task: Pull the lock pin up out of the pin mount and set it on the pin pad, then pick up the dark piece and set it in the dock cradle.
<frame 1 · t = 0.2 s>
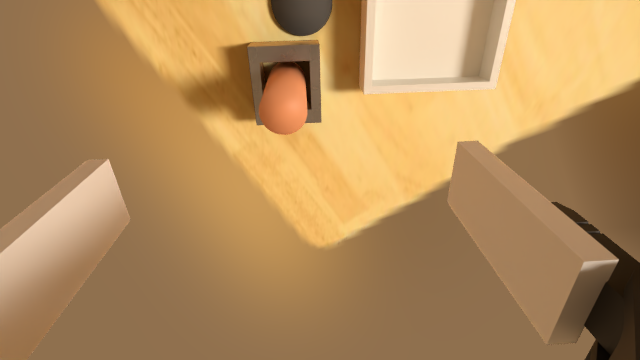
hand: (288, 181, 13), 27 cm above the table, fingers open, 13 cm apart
lock pin: (285, 93, 33), in the pin mount
pin pad: (301, 2, 34), on the table
pin mount: (287, 79, 38), on the table
dock cradle: (428, 15, 35), on the table
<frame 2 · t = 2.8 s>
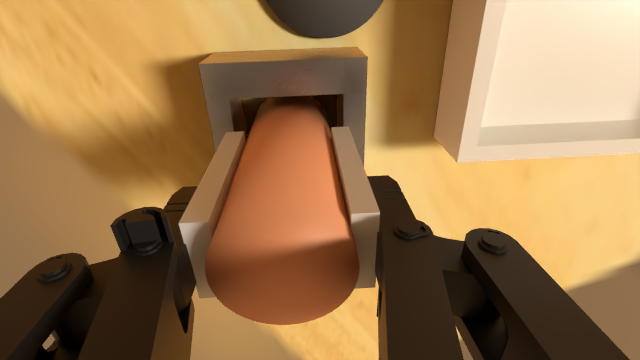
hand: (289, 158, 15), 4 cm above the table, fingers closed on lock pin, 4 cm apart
lock pin: (289, 174, 14), in the pin mount, touching gripper
pin mount: (291, 127, 19), on the table
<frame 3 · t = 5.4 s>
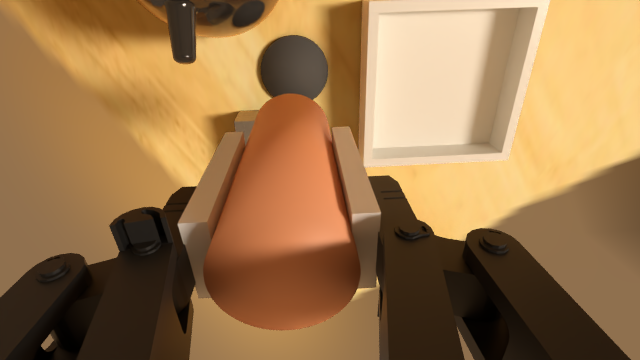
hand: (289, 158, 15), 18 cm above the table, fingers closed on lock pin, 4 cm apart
lock pin: (289, 177, 14), point 20 cm above the table, touching gripper
pin pad: (294, 70, 31), on the table
pin mount: (279, 147, 35), on the table
dock cradle: (434, 81, 32), on the table
when the fingers open (6 cm above the table, at t = 7.8 s): lock pin drops 2 cm, resting on pin pad.
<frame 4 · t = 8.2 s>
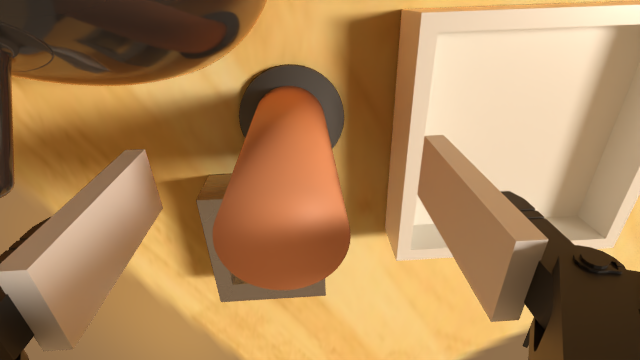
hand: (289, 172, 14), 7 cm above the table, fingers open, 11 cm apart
lock pin: (287, 161, 15), on the pin pad
pin pad: (292, 117, 20), on the table
pin mount: (270, 223, 24), on the table
dock cradle: (504, 131, 21), on the table
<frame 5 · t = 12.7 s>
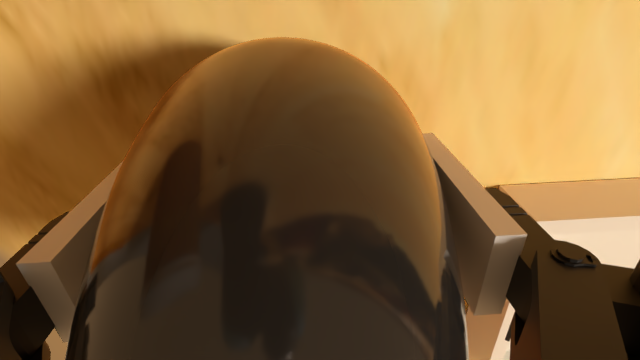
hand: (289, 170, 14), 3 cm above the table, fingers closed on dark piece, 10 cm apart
dark piece: (290, 142, 17), on the table, touching gripper
dock cradle: (582, 274, 22), on the table
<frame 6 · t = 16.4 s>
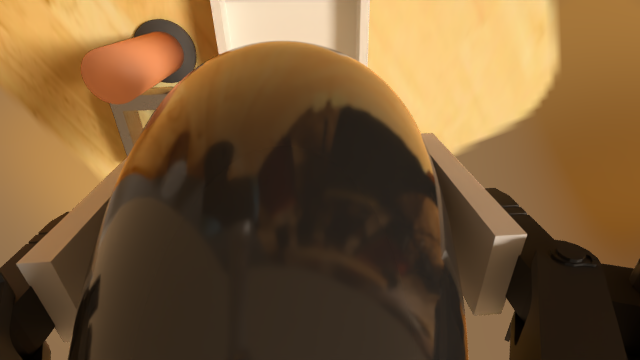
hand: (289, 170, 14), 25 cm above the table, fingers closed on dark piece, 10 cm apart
lock pin: (141, 63, 29), on the pin pad
pin pad: (165, 51, 35), on the table
pin mount: (164, 123, 38), on the table
dark piece: (290, 144, 17), point 22 cm above the table, touching gripper
dock cradle: (295, 62, 36), on the table
when the fingers open (6 cm above the table, at t = 20.3 s): dark piece drops 2 cm, resting on dock cradle.
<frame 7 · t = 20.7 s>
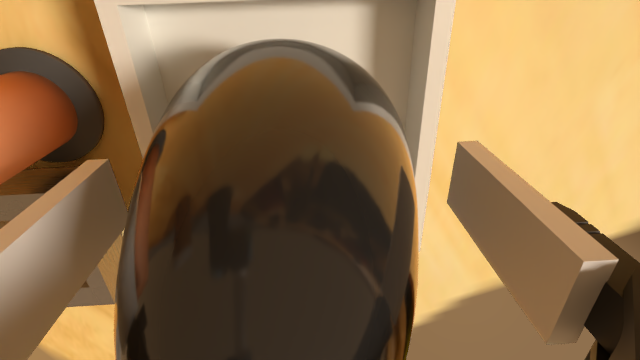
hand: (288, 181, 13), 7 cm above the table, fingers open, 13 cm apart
pin pad: (43, 107, 18), on the table
pin mount: (60, 225, 22), on the table
dark piece: (290, 128, 18), point 1 cm above the table, touching dock cradle
dock cradle: (291, 123, 19), on the table
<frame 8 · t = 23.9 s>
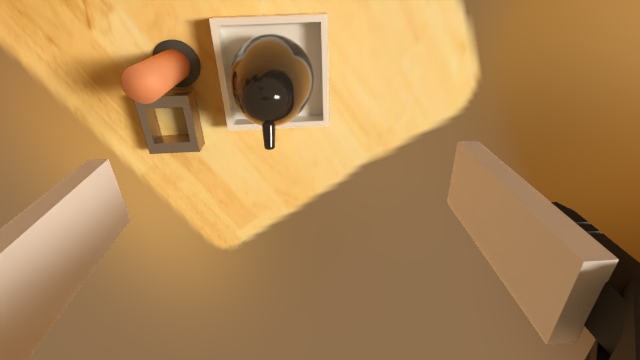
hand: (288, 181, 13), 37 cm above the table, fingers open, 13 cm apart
lock pin: (160, 73, 40), on the pin pad
pin pad: (176, 63, 46), on the table
pin mount: (175, 118, 49), on the table
dark piece: (274, 72, 46), point 1 cm above the table, touching dock cradle
dock cradle: (275, 71, 47), on the table
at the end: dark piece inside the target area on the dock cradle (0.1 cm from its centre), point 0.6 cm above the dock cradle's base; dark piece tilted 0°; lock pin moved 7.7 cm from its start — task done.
